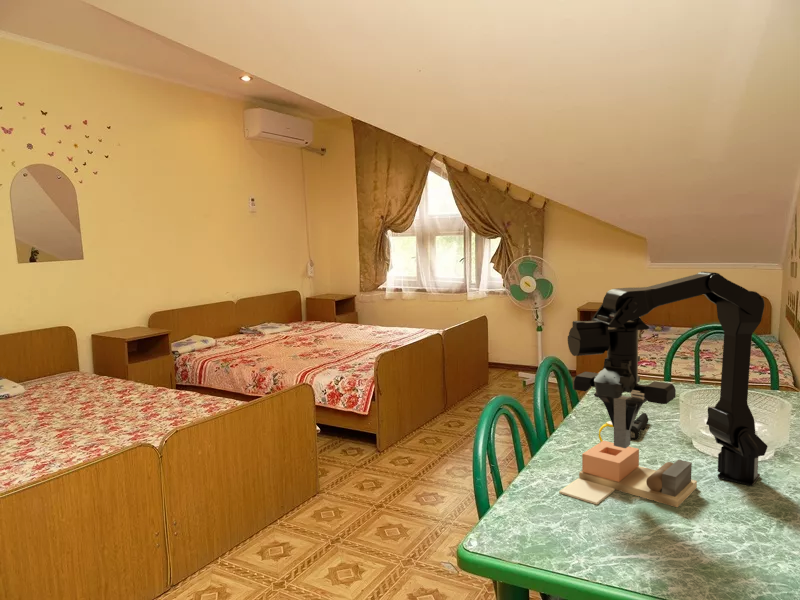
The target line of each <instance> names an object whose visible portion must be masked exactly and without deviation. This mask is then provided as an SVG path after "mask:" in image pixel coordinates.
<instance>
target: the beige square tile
mask: <svg viewBox="0 0 800 600" xmlns="http://www.w3.org/2000/svg"><path fill="white" fill-rule="evenodd" d="M615 491H616V490H615V489H614V488H611V487H607V486H604V485H600V484H597V483H593V482H590V481H586V480H583V479H580V478H576V479H575V480H573V481H572V482H570V483H569V484H567V485H566V486H565V487H563V488H561V489H560V490H559V494H562V495H565V496H568V497H570V498H573V499H576V500H577V499H578V500H581V501H584V502H587V503H590V504H594V505H598V504H600V503H602V501H603V500H605V499H606V498H607V497H609V496H610V495H611V494H612V493H613V492H615Z"/></svg>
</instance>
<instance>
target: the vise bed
mask: <svg viewBox="0 0 800 600" xmlns="http://www.w3.org/2000/svg"><path fill="white" fill-rule="evenodd" d="M692 468H693V467H692V462H691V461H687V460H684V459H678V460H676V461H675V462H674V463H673V462H670V461H667V462H665V463H664V464H663V465H662V466H660V467H659V468H658V469H657V470H656V469H651V468H648V467H645V466H640V465H639V467H638V468H636V469H635V470H634V471H633V472H631V473H630V474H629V475H627V476H626V477H625V478H624V479H622V480H621V481H620V482H617V481H614V480H610V479H607V478H603V477H599V476H596V475H592V474H589V473H585V472H582V470H580V471H579V472H578V475H579V476H578V477H579V478H580V479H583V480H586V481H590V482H593V483H597V484H600V485H604V486H607V487H611V488H614V489H615V491H619V492H622V493H626V494H629V495H633V496H636V497H639V496H640V498H643V499H646V498H647V499H646V500H649V501H653V500H654V502H658V503H660V504H664V505H668V506H672V507H674V508H678V507H680V505H682V503H684V501H685V500H687V498H688V497H689V496H690V495H691V494H693V492H694V491H696V489H697V485H698V484H697V483H698V482H697V480H694V479H692Z"/></svg>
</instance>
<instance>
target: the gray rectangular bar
mask: <svg viewBox="0 0 800 600" xmlns="http://www.w3.org/2000/svg"><path fill="white" fill-rule="evenodd" d="M630 397H631V396H628V395H622V396H621V397H620V398H614V427H613V443H614V446H617V447H622V448H627V447H628V446H629V447H630V446H631V440H630V430H627V411H628V405H627V402H626V400H627V399H628V398H630Z"/></svg>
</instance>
